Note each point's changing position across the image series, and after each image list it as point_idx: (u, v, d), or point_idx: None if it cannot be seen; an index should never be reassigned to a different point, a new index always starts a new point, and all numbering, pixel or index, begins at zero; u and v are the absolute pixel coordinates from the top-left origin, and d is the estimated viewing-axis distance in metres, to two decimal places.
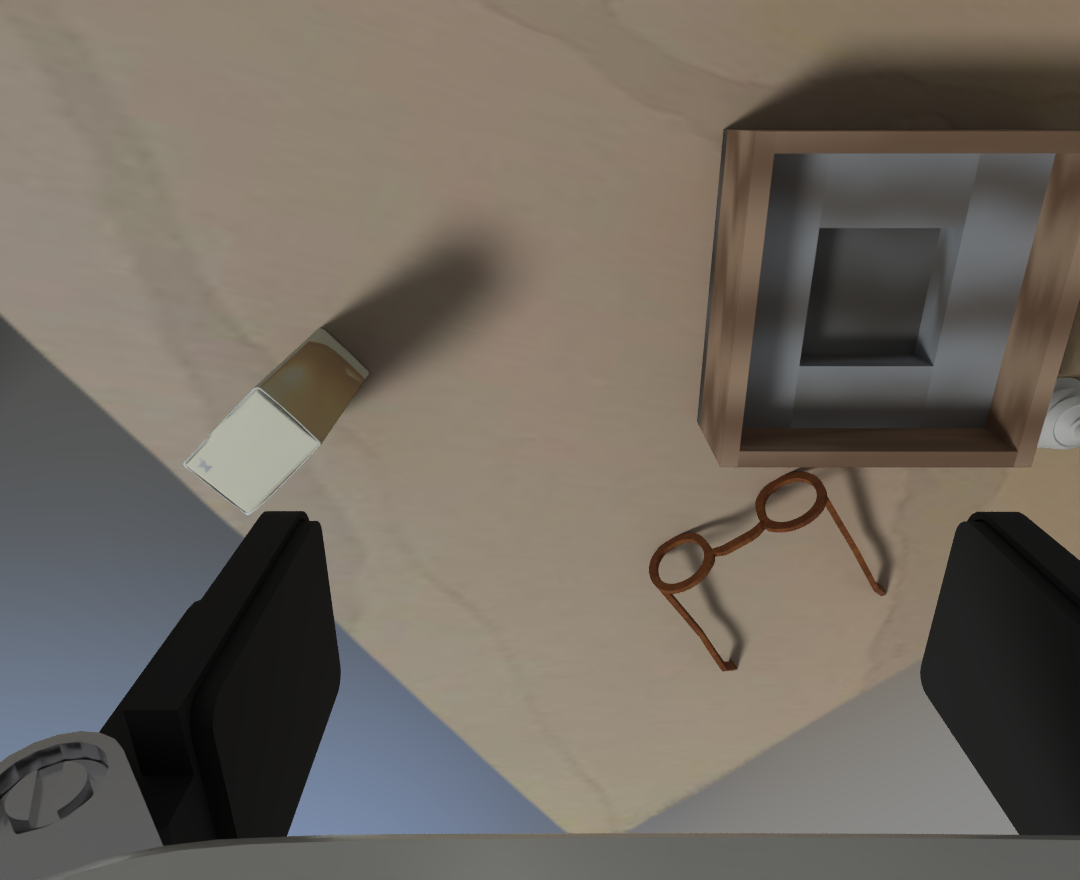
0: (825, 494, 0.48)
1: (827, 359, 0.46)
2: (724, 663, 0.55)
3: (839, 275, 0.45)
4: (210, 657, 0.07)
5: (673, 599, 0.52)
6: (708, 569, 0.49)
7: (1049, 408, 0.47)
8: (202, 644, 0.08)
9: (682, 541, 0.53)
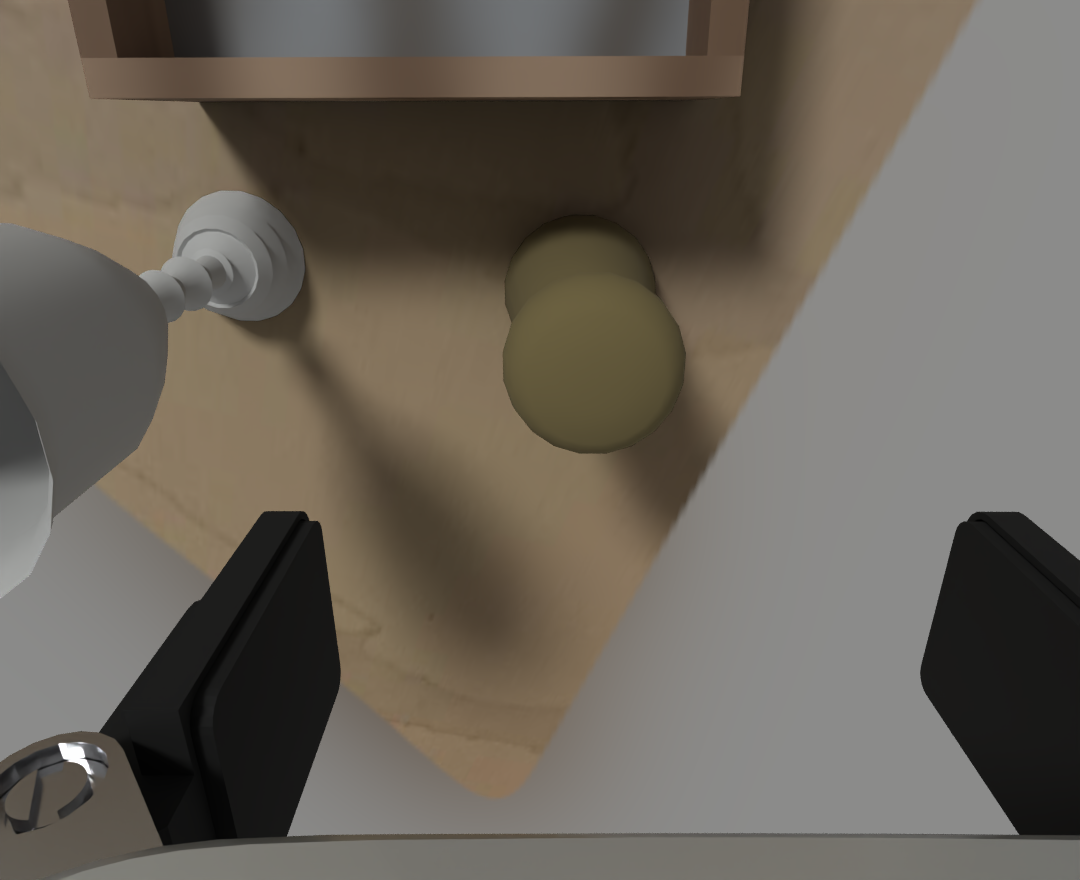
0: None
1: None
2: None
3: None
4: (210, 657, 0.07)
5: None
6: None
7: (243, 223, 0.27)
8: (202, 644, 0.08)
9: None
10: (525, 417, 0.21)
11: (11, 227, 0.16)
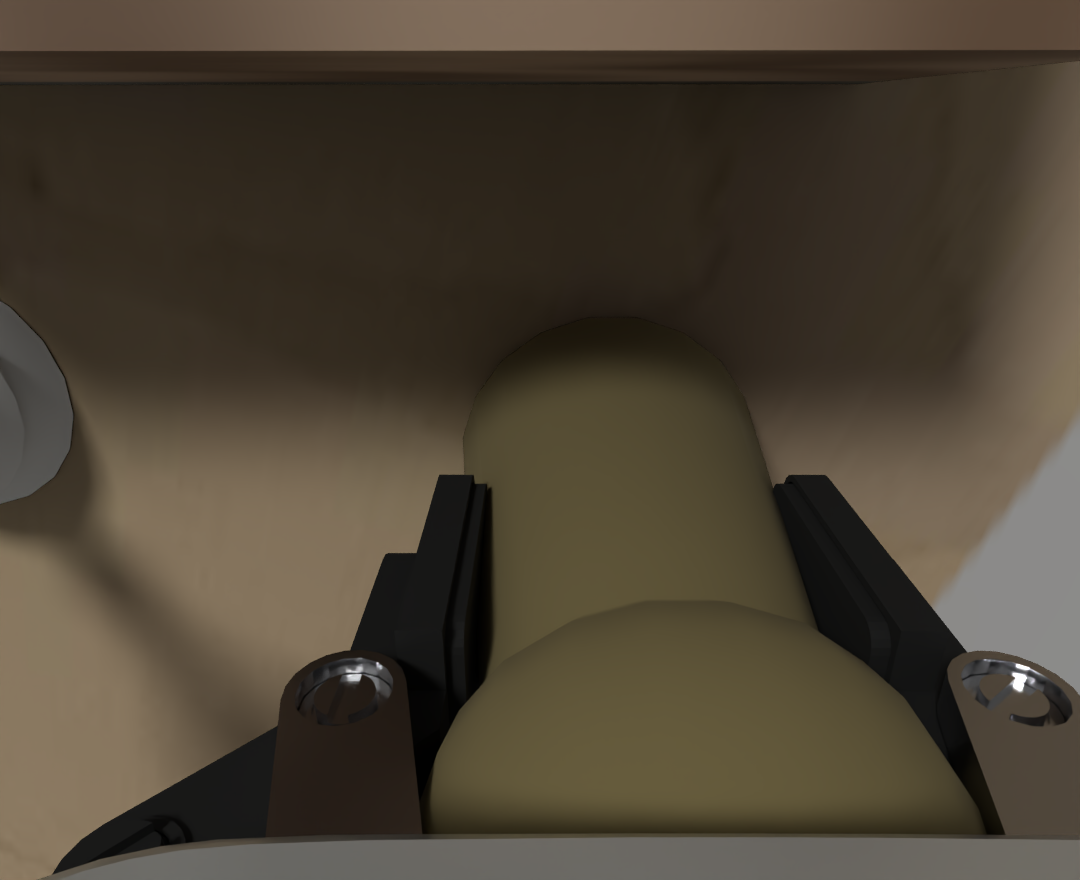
0: None
1: None
2: None
3: None
4: (450, 590, 0.08)
5: None
6: None
7: None
8: (437, 580, 0.09)
9: None
10: None
11: None
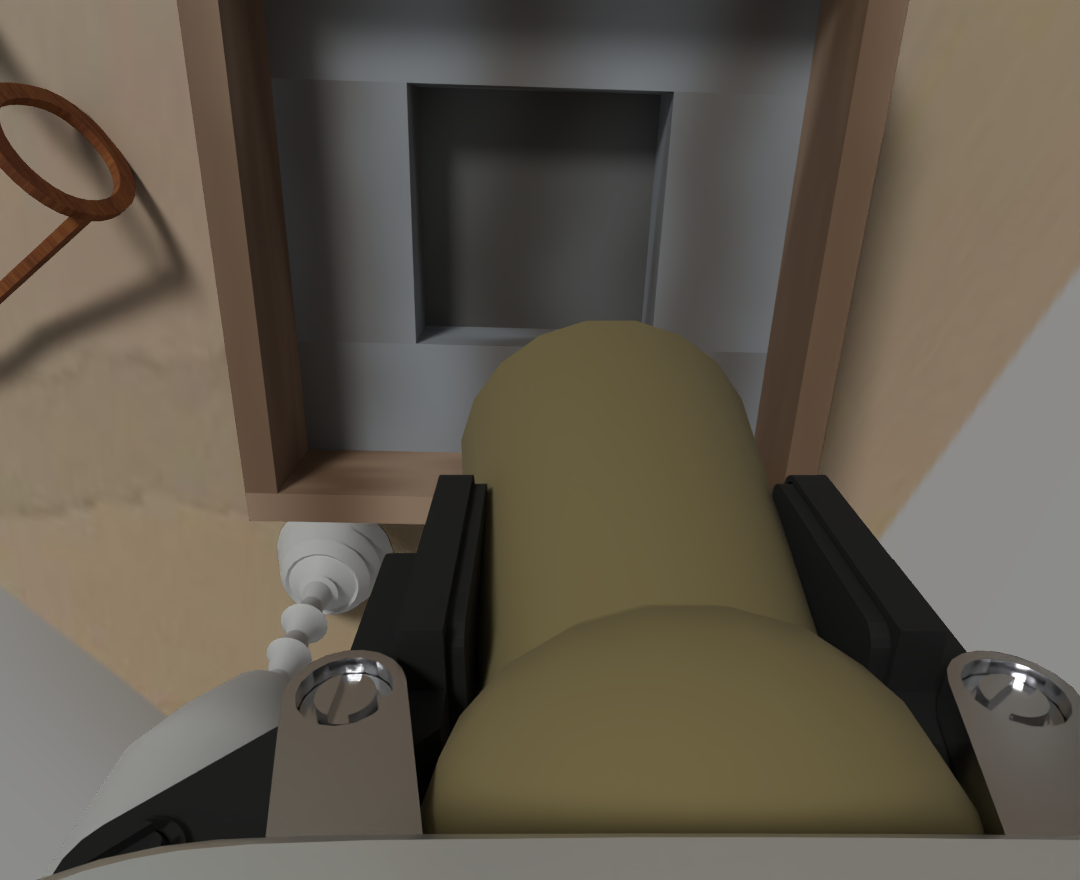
0: (87, 215, 0.24)
1: (415, 158, 0.24)
2: None
3: (563, 173, 0.25)
4: (450, 590, 0.08)
5: None
6: None
7: (346, 543, 0.30)
8: (437, 580, 0.09)
9: None
10: None
11: (224, 733, 0.19)
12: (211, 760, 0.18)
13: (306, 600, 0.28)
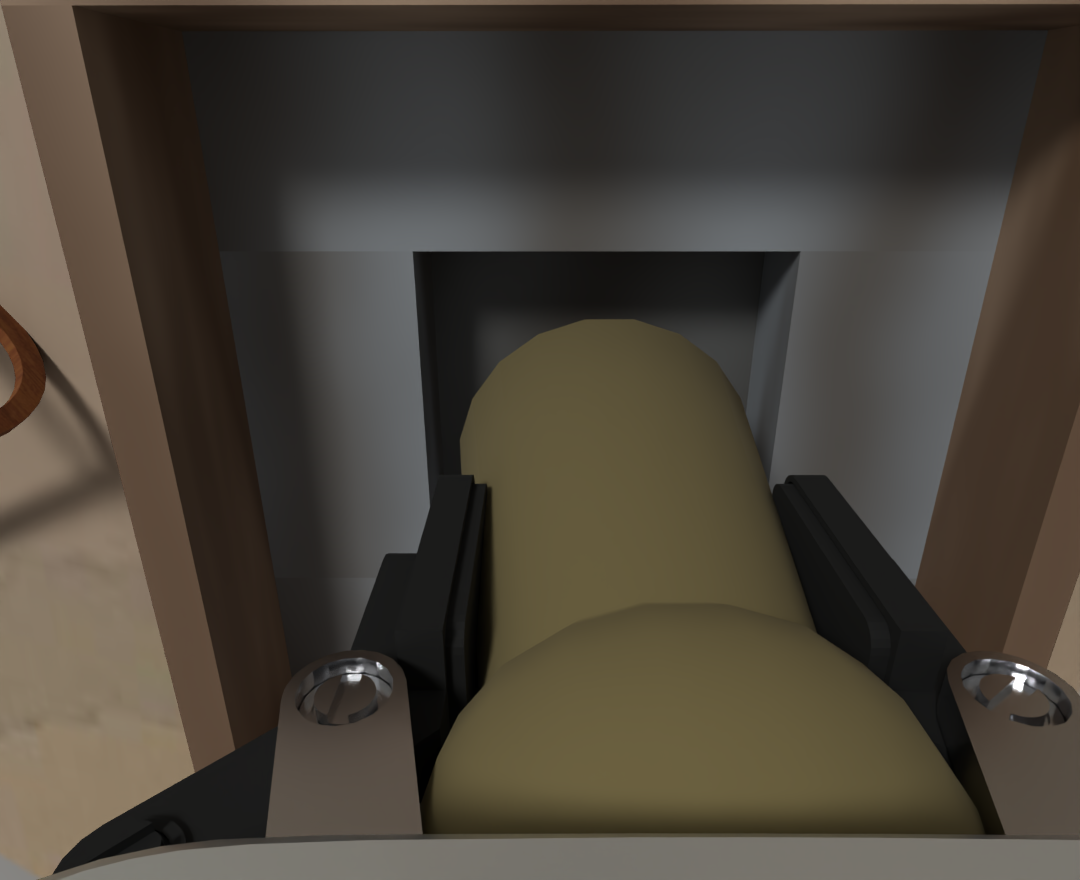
0: None
1: (428, 335, 0.17)
2: None
3: None
4: (450, 590, 0.08)
5: None
6: None
7: None
8: (437, 580, 0.09)
9: None
10: None
11: None
12: None
13: None
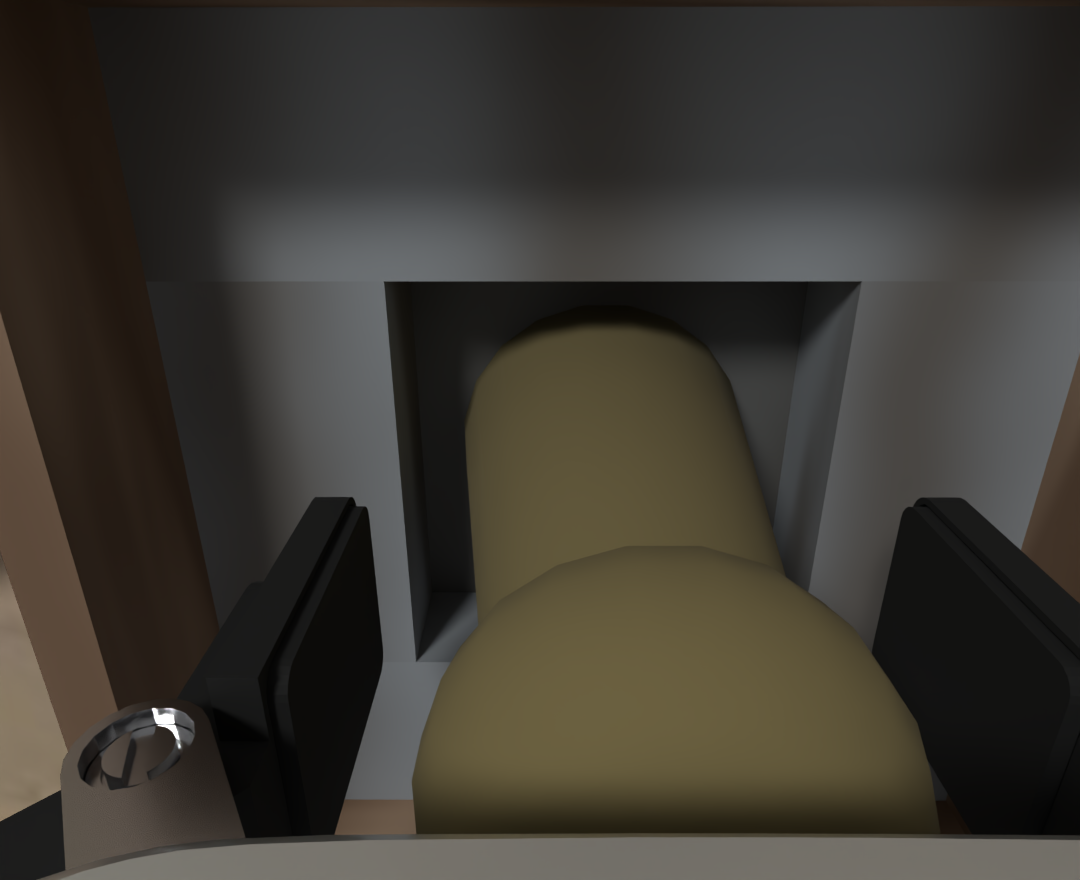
0: None
1: (406, 377, 0.15)
2: None
3: None
4: (281, 631, 0.08)
5: None
6: None
7: None
8: (272, 618, 0.08)
9: None
10: None
11: None
12: None
13: None
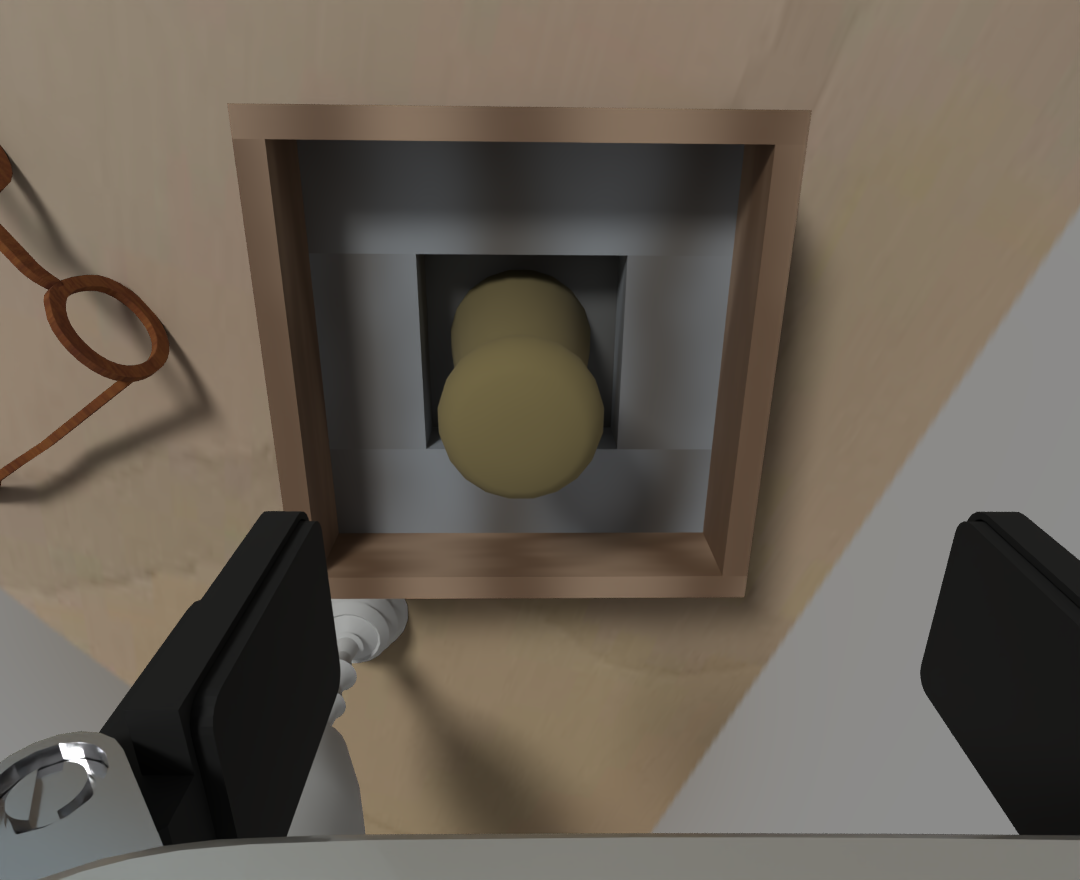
0: (134, 378, 0.30)
1: (423, 303, 0.30)
2: None
3: None
4: (210, 657, 0.07)
5: None
6: None
7: (369, 603, 0.36)
8: (202, 644, 0.08)
9: None
10: (458, 467, 0.23)
11: None
12: None
13: None
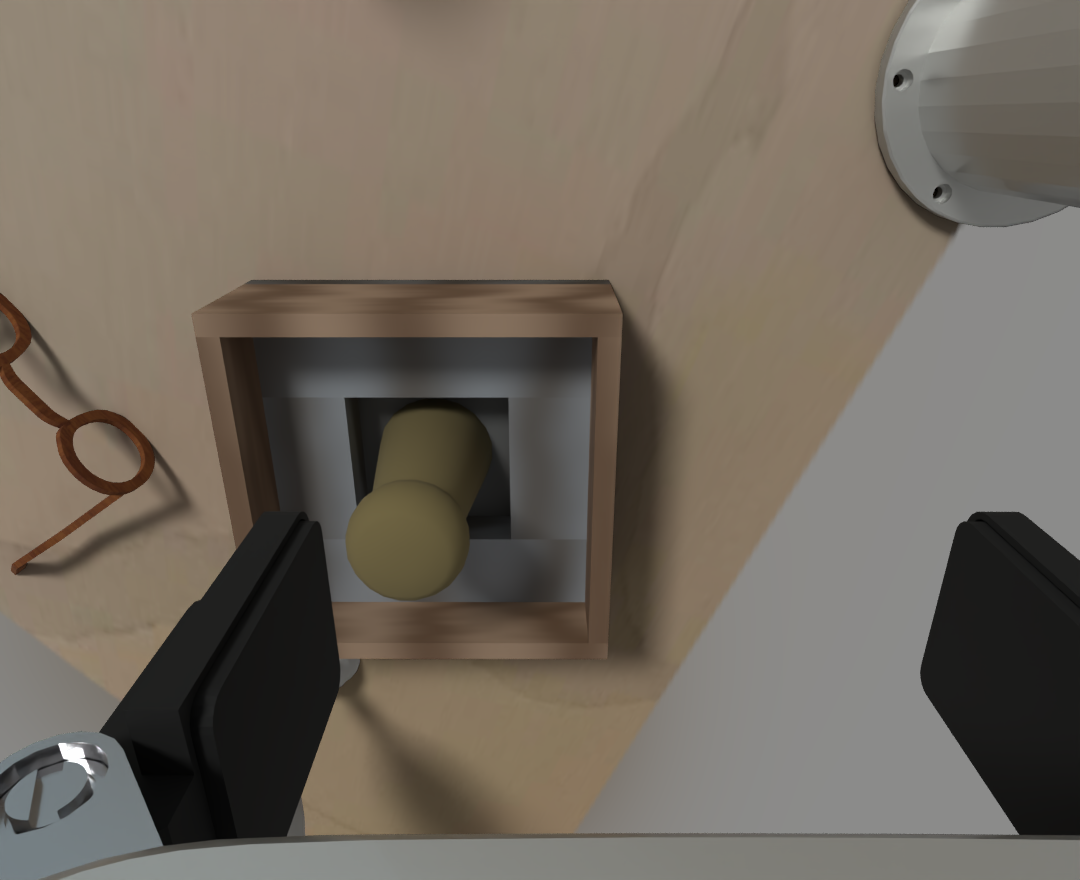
0: (126, 491, 0.39)
1: (355, 427, 0.38)
2: None
3: None
4: (210, 656, 0.07)
5: None
6: None
7: None
8: (202, 644, 0.08)
9: (13, 321, 0.38)
10: None
11: None
12: None
13: None
